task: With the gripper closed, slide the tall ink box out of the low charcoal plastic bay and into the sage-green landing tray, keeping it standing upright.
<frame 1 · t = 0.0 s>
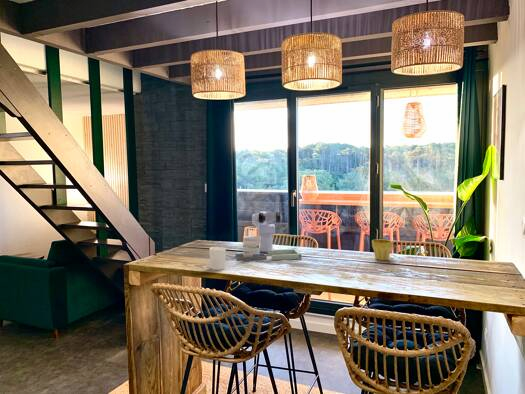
hand: (271, 218, 218), 22 cm above the table, tool horizontal, fingers open, 7 cm apart
plant pot: (381, 259, 214), on the table
white cup: (217, 268, 197), on the table
landing tray: (284, 256, 222), on the table
ink box: (251, 258, 219), on the table
printer bay: (251, 257, 219), on the table
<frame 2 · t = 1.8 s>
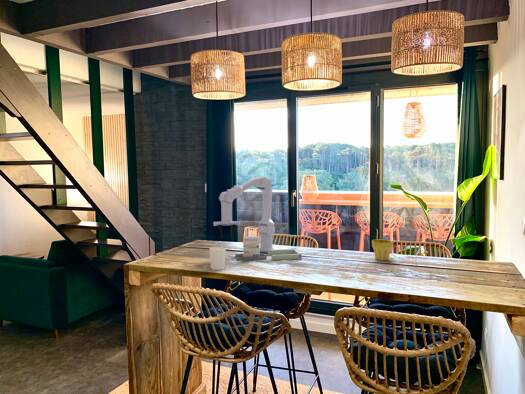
hand: (227, 238, 221), 10 cm above the table, tool pointing down, fingers open, 5 cm apart
nothing on the table moved.
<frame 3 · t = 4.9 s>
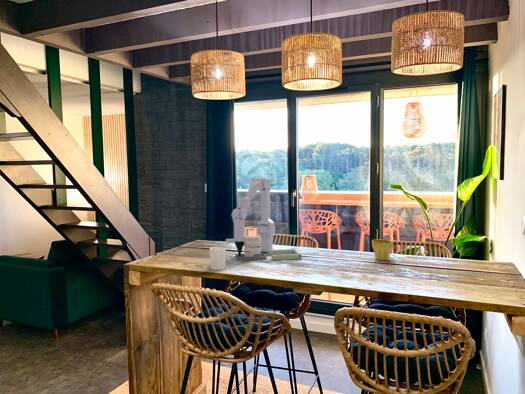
hand: (239, 255, 218), 1 cm above the table, tool pointing down, fingers closed
ink box: (252, 258, 219), on the table, touching gripper
everything else where it was.
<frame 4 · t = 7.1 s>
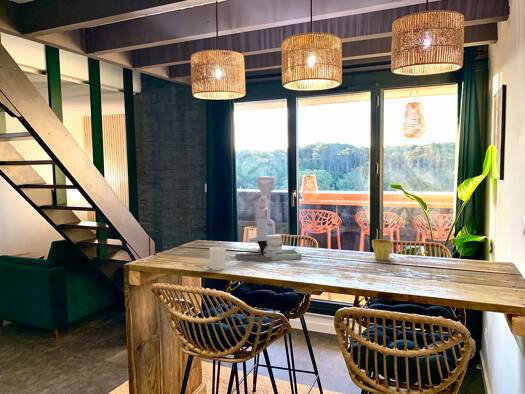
hand: (262, 254, 220), 1 cm above the table, tool pointing down, fingers closed
ink box: (273, 256, 222), on the table, touching gripper
everything else where it was.
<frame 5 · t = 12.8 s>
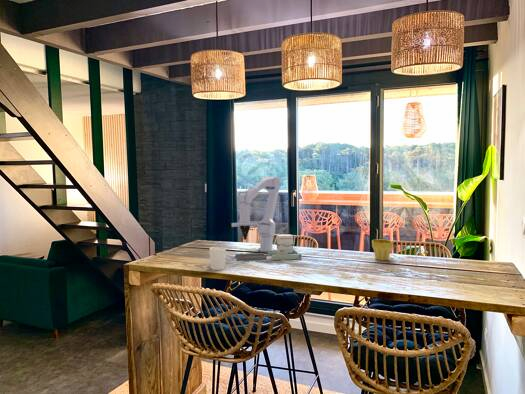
hand: (245, 239, 223), 9 cm above the table, tool pointing down, fingers closed
ink box: (285, 256, 223), on the table
everything else where it was.
at the end: ink box inside the target area on the landing tray (1.0 cm from its centre), point 0.0 cm above the landing tray's base; ink box tilted 0°; ink box moved 18.8 cm from its start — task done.
